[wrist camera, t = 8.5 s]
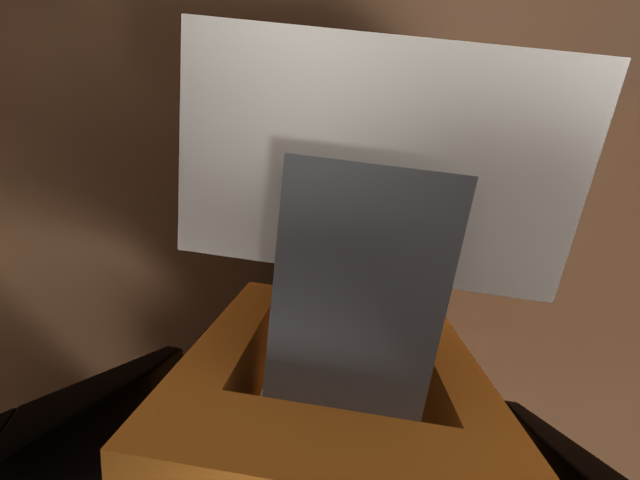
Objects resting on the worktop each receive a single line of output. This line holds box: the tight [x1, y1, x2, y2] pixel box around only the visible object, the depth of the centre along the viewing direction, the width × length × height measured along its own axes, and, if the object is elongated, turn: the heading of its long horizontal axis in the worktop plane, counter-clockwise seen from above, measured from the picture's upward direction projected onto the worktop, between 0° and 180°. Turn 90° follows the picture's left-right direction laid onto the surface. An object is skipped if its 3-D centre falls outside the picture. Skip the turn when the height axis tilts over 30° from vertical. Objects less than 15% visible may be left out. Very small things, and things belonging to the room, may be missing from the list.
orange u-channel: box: [100, 282, 560, 480], centre depth 8 cm, size 7×3×7 cm, turn 83°
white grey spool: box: [178, 13, 631, 422], centre depth 9 cm, size 16×7×7 cm, turn 173°
